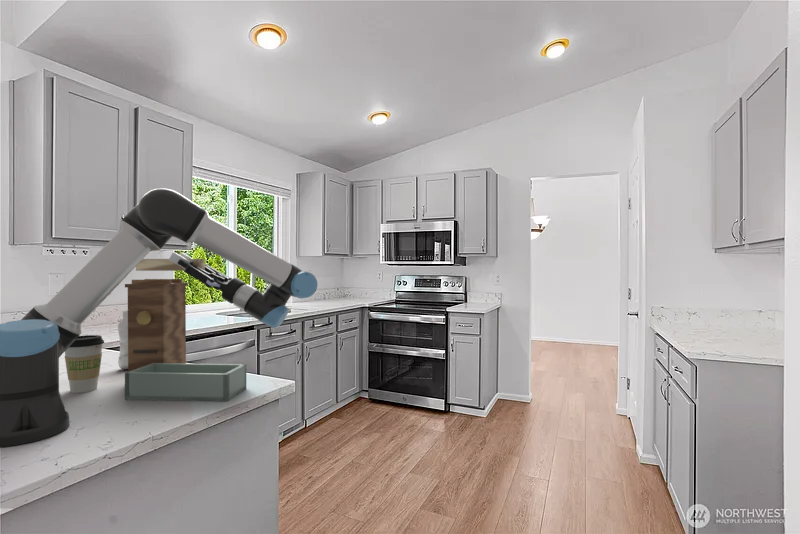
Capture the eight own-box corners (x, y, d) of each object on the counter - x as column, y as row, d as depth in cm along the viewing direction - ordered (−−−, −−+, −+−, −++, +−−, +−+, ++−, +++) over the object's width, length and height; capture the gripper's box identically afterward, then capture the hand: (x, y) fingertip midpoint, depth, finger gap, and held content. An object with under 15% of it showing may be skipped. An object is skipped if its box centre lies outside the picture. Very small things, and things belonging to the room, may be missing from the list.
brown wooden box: (162, 386, 130) (162, 280, 130) (123, 385, 131) (123, 280, 131) (188, 374, 144) (187, 278, 144) (152, 374, 145) (152, 278, 145)
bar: (198, 270, 135) (198, 258, 135) (135, 270, 136) (135, 258, 136) (204, 270, 139) (204, 258, 139) (143, 270, 140) (143, 259, 140)
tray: (227, 401, 116) (227, 374, 116) (124, 399, 118) (124, 373, 118) (246, 388, 128) (246, 364, 128) (153, 386, 130) (152, 363, 130)
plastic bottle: (133, 371, 149) (133, 311, 149) (113, 371, 149) (113, 311, 149) (144, 366, 155) (144, 309, 155) (125, 366, 156) (125, 309, 155)
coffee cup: (82, 395, 121) (82, 340, 121) (53, 393, 123) (52, 339, 123) (112, 386, 131) (112, 335, 131) (84, 384, 133) (84, 334, 133)
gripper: (220, 307, 128) (153, 266, 129) (245, 302, 145) (184, 266, 146) (233, 284, 128) (165, 244, 129) (256, 282, 144) (195, 246, 146)
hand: (175, 256), depth 137 cm, fingers closed on bar, 4 cm apart
